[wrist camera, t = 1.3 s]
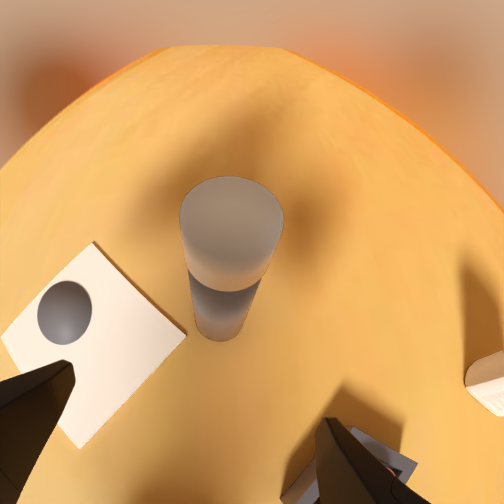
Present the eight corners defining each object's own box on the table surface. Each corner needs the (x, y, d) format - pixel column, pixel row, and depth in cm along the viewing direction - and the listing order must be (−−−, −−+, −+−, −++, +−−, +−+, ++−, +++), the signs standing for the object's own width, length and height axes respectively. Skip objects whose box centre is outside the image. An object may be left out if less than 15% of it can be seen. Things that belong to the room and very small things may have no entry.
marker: (223, 352, 22) (240, 281, 10) (183, 320, 23) (157, 216, 11) (254, 315, 24) (302, 212, 12) (216, 285, 25) (226, 162, 13)
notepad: (80, 448, 16) (78, 449, 15) (2, 337, 18) (0, 336, 18) (186, 336, 22) (185, 335, 22) (92, 244, 25) (91, 242, 25)
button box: (349, 529, 14) (364, 539, 12) (279, 499, 16) (289, 510, 13) (398, 460, 18) (418, 463, 16) (337, 425, 20) (353, 426, 17)
